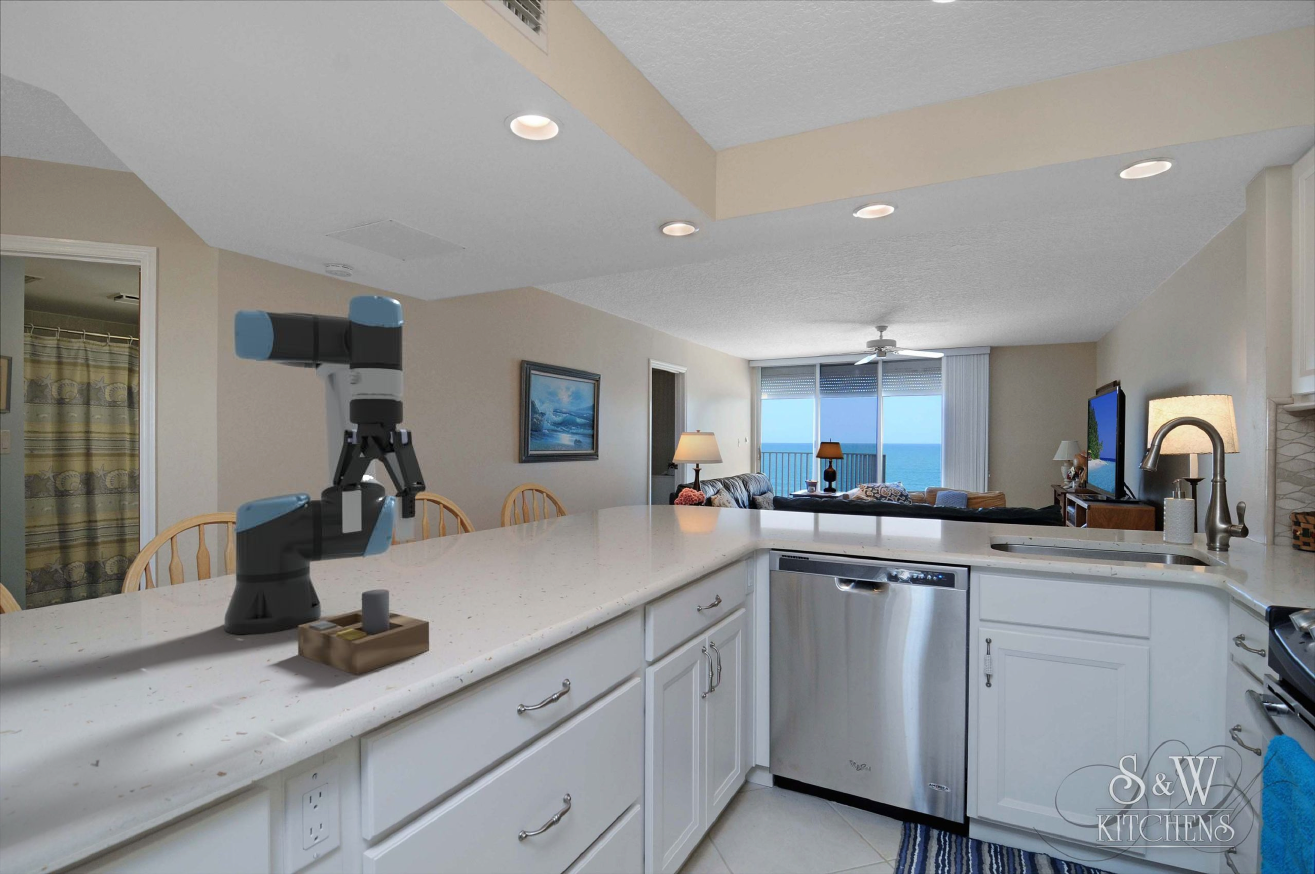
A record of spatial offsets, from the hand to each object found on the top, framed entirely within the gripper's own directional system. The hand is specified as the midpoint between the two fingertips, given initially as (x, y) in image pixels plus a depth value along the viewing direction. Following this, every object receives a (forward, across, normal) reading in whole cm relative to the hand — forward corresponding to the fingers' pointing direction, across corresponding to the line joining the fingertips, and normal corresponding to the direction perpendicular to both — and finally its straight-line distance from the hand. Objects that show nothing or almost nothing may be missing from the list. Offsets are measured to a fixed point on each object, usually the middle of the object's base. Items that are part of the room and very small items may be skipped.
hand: (377, 535), depth 95 cm
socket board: (+19, -3, 0) cm, 19 cm away
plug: (+19, 0, -1) cm, 19 cm away
